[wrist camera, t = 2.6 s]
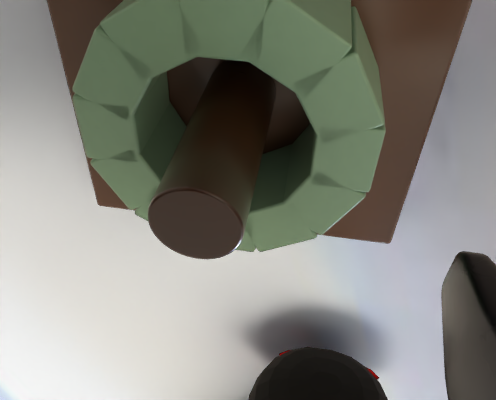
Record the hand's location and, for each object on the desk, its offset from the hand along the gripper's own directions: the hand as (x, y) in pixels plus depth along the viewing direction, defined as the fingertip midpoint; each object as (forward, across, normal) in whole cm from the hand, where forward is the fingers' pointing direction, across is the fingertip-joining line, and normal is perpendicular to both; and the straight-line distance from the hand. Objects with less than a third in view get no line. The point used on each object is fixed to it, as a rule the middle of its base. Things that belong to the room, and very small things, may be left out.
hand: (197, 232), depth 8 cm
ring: (+5, 0, 0) cm, 5 cm away
